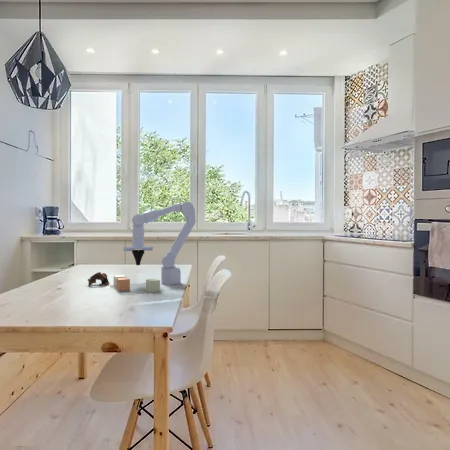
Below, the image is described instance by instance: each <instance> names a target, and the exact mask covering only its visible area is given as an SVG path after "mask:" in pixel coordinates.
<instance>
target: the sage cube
mask: <svg viewBox="0 0 450 450" xmlns="http://www.w3.org/2000/svg"><path fill="white" fill-rule="evenodd" d="M145 283H146V290H147V291H148V292H154V293H158V292H157V291H160V289H161V280H160V279H159V278H149V279H148V278H147V279H145Z"/></svg>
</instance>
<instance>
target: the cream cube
mask: <svg viewBox="0 0 450 450" xmlns="http://www.w3.org/2000/svg"><path fill="white" fill-rule="evenodd" d="M117 278H127V275H126V274H121V275H120V274H119V275H118V274H117V275H113V285H114V286H115V287H116V288H117Z"/></svg>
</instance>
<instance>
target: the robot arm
mask: <svg viewBox="0 0 450 450" xmlns="http://www.w3.org/2000/svg"><path fill="white" fill-rule="evenodd" d="M173 212H174V213H175V212H177V213H180V212H181V213H182V214H183V217H184V220H185V223H184V225H183V226H182V228H181V230H180V231H179V233H178V234H177V237H176V238H175V240H174V241H173V243H172V245H171V246H170V248H169V250H168V252H167V253H165V254H164V255H163V257H162V261H161V264H162V266H161V269H160V271H161V275H160V276H161V280H160V285H166V286H167V285H177V284H181V282H182V281H181V280H182V276H181V274H182V273H181V269H180V267H176V265H175V263H176V258H177V257H178V254H179V252H180V250H181V249H182V248H183V245H184V243H185V242H186V240H187V239H188V237H189V235H190V233H191V232H192V230H193V228H194V226H195V225H196V222H197V221H196V220H197V219H196V209H195V207H194V205H193V203H191V202H190V201H184V202H178V203H174V204H171V205H169V206H166V207H164V208H161V209H155V208H153V209H152V208H149V210H147V211H144V212H143V211H142V212H140V214H139V213H137V214H135V215H133V216H132V219H131V221H132V240H131V241H132V243H131V244H132V246H124V247H123V248H122V250H123V251H122V252H131V253H132V256H133V257H134V261H135V266H141V262H142V259H143V256H144V254H145V251H153V249H154V246H145V229H144V228H145V227H144V226H145V224H149V223H152V222H155V221H157V220H159V218H160V217H162V216H165V215H168V214H171V213H173Z"/></svg>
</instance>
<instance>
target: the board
mask: <svg viewBox="0 0 450 450" xmlns="http://www.w3.org/2000/svg"><path fill="white" fill-rule="evenodd" d="M110 287H111V288H112V289H113V290H114V291H116V292H117V293H118V294H119V295H121V296H130V295H141V294H150V293H151V294H152V293H153V294H155V292H148V291H147V290H146V282H140V283H138V282H137V283H130V290H123V291H118V290H117V288H116V287H115V286H114V284H113V285H110ZM163 292H165V291H163V290H162V289H161V288H160V291H157V292H156V293H163Z"/></svg>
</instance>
